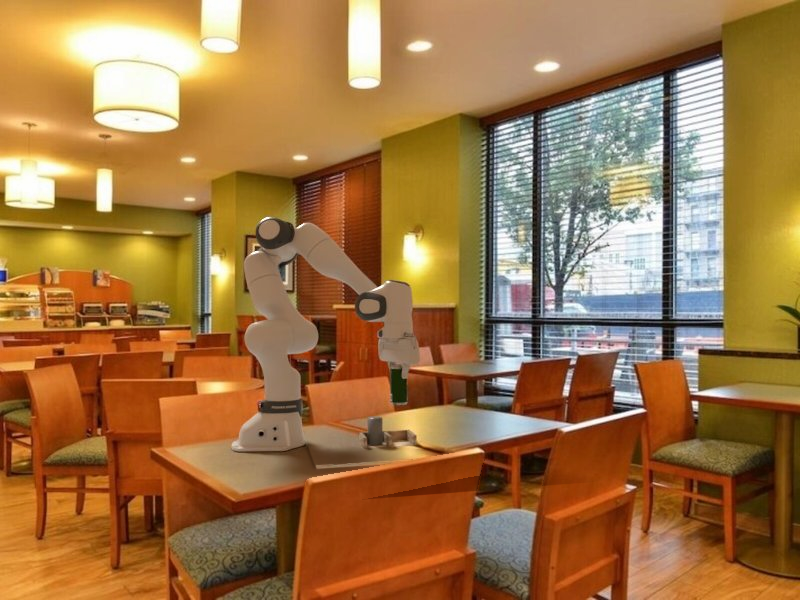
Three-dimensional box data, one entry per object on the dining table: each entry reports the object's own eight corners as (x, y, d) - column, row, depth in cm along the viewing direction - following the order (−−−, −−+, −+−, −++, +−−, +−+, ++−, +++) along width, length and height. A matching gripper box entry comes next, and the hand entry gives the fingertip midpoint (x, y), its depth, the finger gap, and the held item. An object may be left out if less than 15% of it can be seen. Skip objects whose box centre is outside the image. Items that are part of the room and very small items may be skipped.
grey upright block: (368, 446, 179) (368, 419, 179) (366, 443, 183) (366, 416, 183) (383, 445, 180) (383, 418, 180) (380, 442, 184) (380, 416, 184)
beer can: (394, 405, 180) (394, 365, 180) (387, 403, 185) (387, 364, 185) (410, 404, 182) (410, 365, 182) (403, 402, 187) (403, 363, 187)
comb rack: (363, 451, 176) (363, 438, 176) (358, 445, 185) (358, 432, 185) (416, 448, 180) (416, 435, 180) (409, 442, 188) (409, 429, 189)
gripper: (424, 333, 176) (424, 380, 176) (392, 331, 194) (392, 374, 194) (406, 333, 173) (406, 381, 173) (374, 331, 191) (374, 375, 191)
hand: (398, 377), depth 184 cm, fingers closed on beer can, 5 cm apart
